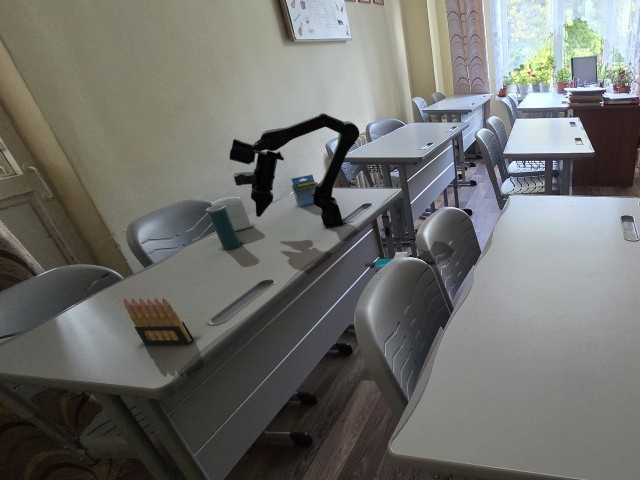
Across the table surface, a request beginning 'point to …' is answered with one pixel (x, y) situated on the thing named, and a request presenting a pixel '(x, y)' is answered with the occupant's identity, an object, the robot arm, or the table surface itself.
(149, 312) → the ammunition clip
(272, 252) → the table surface
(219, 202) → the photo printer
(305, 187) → the label tape box
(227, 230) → the tin
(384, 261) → the phone stand
